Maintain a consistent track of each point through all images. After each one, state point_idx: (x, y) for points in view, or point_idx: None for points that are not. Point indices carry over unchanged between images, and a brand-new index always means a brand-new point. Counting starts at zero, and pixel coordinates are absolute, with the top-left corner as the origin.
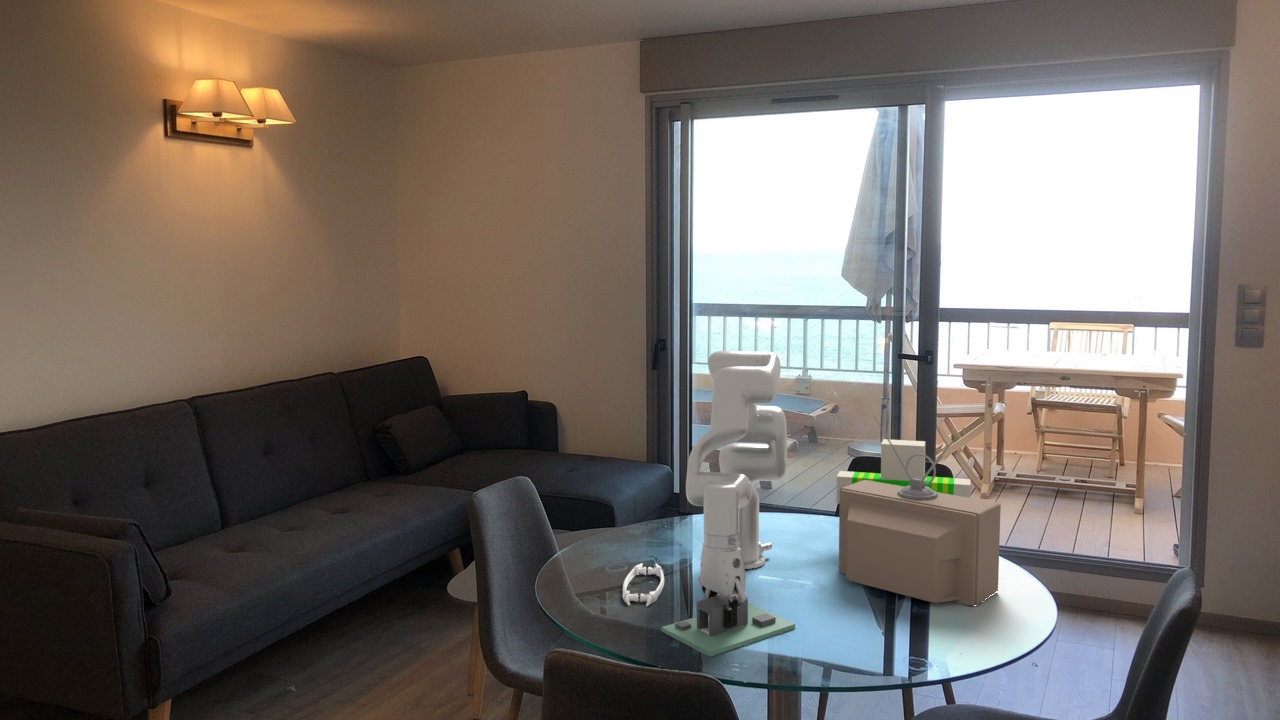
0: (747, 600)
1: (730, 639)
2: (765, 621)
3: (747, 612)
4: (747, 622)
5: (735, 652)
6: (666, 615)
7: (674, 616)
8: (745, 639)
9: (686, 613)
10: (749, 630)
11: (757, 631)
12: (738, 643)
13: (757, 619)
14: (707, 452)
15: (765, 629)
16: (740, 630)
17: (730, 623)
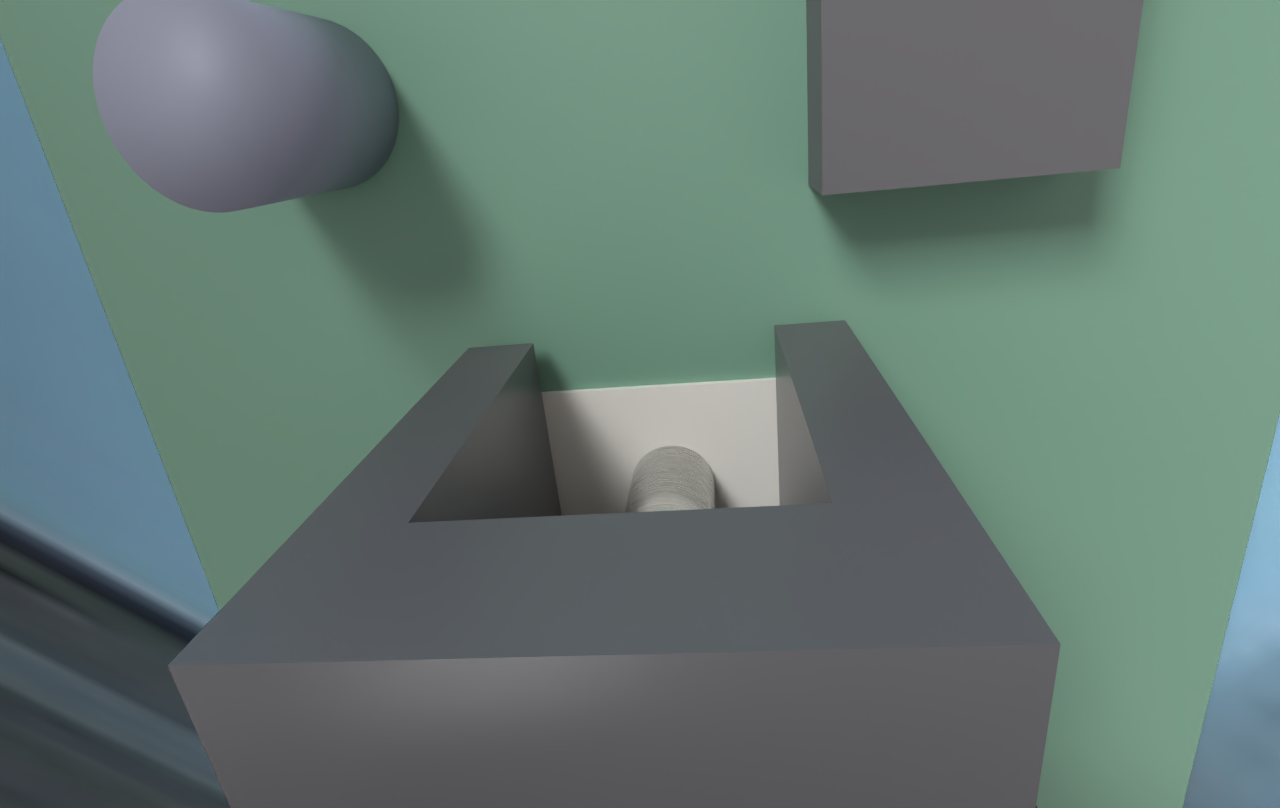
0: (1002, 574)
1: (1050, 761)
2: (1124, 55)
3: (896, 406)
4: (850, 334)
5: (1226, 789)
6: (33, 755)
7: (78, 718)
8: (1201, 640)
9: (25, 591)
10: (1016, 418)
11: (1142, 343)
12: (1189, 740)
13: (964, 166)
14: None
15: (1192, 172)
16: None
17: None
